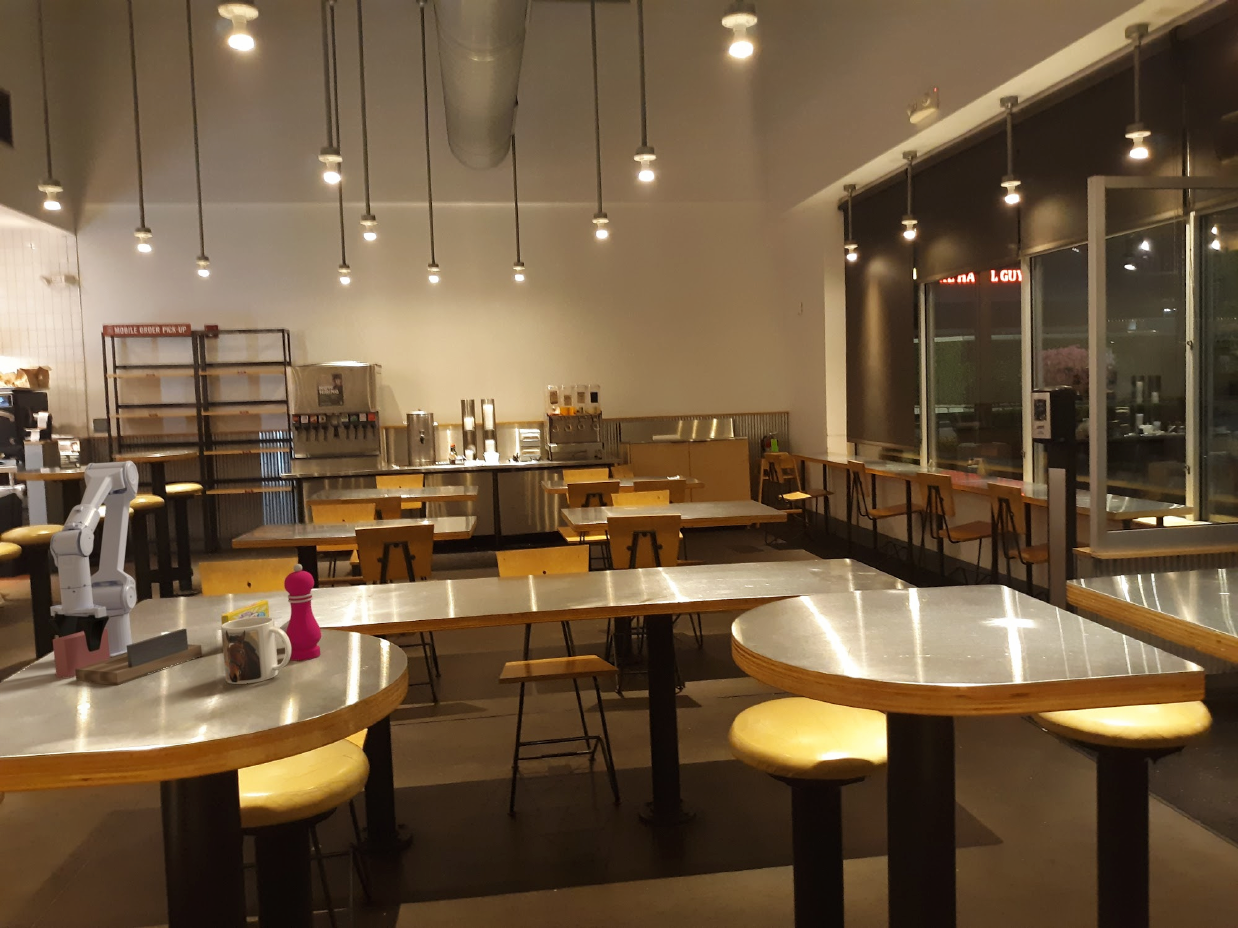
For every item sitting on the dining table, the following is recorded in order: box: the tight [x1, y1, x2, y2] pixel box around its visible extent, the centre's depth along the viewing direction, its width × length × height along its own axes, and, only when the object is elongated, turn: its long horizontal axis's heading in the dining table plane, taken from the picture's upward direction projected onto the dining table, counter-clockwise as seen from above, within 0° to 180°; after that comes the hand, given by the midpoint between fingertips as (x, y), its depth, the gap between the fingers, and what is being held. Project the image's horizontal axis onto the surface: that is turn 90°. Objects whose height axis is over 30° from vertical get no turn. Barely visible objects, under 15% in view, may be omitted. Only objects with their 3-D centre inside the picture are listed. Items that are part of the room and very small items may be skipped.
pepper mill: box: [283, 563, 322, 661], centre depth 200 cm, size 7×7×20 cm
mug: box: [220, 616, 292, 685], centre depth 186 cm, size 10×12×11 cm
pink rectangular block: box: [52, 628, 111, 679], centre depth 200 cm, size 4×10×8 cm, turn 157°
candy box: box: [221, 600, 270, 626], centre depth 217 cm, size 16×2×8 cm, turn 168°
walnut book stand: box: [75, 643, 203, 686], centre depth 199 cm, size 12×21×2 cm, turn 157°
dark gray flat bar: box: [126, 628, 189, 668], centre depth 197 cm, size 1×14×4 cm, turn 157°
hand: (81, 649), depth 200 cm, fingers open, 7 cm apart
